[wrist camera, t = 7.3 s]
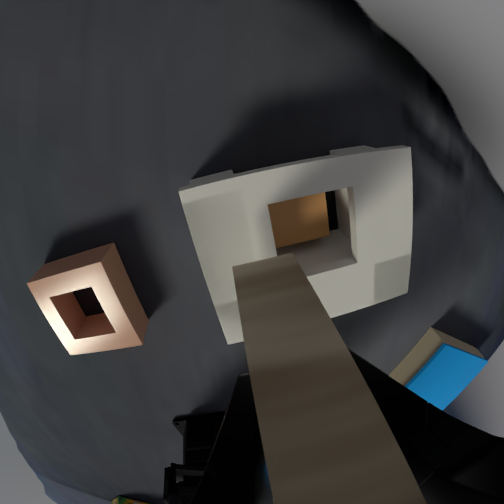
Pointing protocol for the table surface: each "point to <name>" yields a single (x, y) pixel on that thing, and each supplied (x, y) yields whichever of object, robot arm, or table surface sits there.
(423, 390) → the book
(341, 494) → the tan square peg
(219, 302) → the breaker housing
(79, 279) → the holder
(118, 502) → the printed toy box
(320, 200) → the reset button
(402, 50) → the table surface
